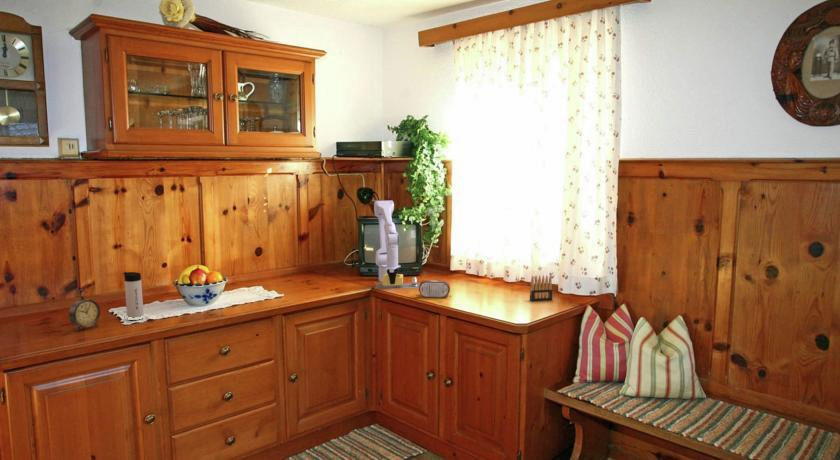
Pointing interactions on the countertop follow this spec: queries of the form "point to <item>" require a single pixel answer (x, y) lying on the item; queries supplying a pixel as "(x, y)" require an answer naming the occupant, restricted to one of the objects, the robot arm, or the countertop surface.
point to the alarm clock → (84, 312)
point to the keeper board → (396, 286)
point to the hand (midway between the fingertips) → (392, 283)
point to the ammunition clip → (541, 289)
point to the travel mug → (133, 294)
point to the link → (397, 281)
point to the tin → (434, 288)
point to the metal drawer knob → (414, 282)
